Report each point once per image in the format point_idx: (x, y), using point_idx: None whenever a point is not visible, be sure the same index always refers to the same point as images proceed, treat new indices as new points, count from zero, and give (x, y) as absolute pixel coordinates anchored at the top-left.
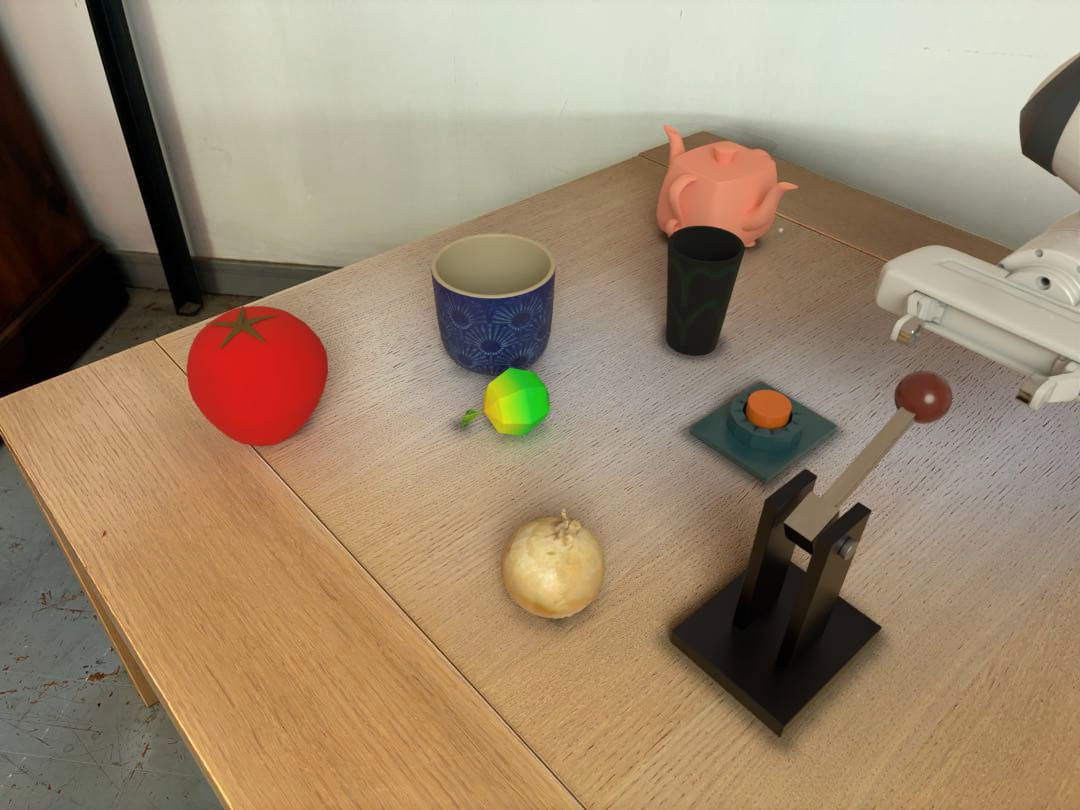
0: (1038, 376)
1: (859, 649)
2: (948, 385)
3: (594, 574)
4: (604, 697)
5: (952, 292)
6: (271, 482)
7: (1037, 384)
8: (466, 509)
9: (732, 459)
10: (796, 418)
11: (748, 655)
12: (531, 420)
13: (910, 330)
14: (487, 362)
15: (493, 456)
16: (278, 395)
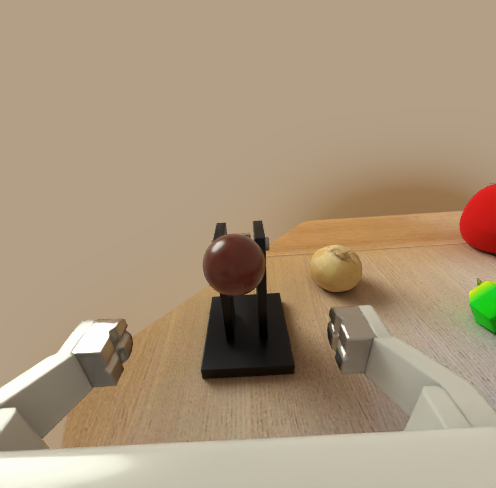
0: (93, 344)
1: (204, 347)
2: (212, 251)
3: (315, 265)
4: (273, 274)
5: (441, 463)
6: (439, 242)
7: (96, 323)
8: (402, 279)
9: None
10: None
11: (245, 306)
12: (471, 302)
13: (337, 307)
14: None
15: (451, 302)
16: (473, 212)
